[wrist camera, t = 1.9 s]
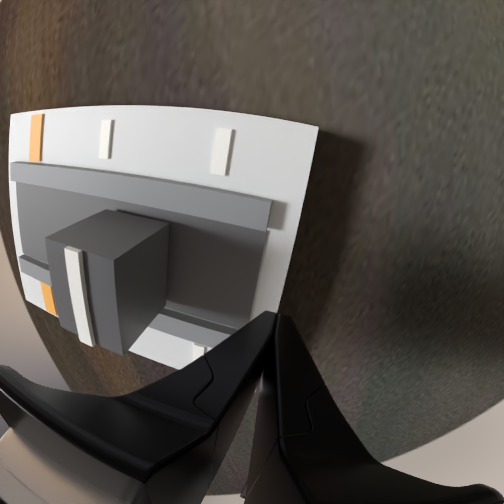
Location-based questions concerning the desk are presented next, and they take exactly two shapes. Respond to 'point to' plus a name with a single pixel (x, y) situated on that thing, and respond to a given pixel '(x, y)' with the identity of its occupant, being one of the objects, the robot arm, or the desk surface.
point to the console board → (168, 206)
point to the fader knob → (109, 277)
